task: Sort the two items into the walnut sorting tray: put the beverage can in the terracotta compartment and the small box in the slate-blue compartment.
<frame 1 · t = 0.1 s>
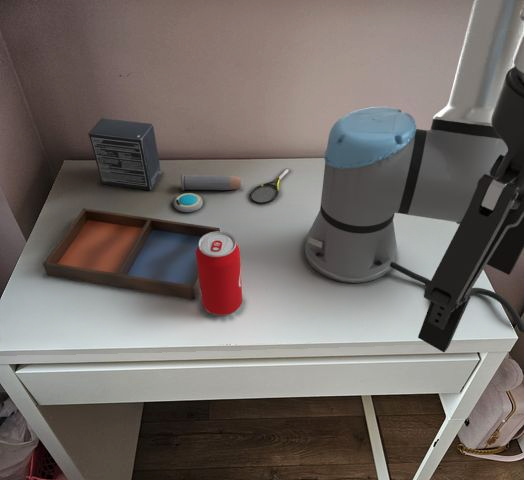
hand: (467, 302, 51), 22 cm above the table, tool pointing down, fingers open, 13 cm apart
beverage can: (222, 304, 81), on the table
small box: (132, 179, 103), on the table
tennis racket: (260, 181, 102), on the table
button: (188, 204, 97), on the table
sorting tray: (137, 256, 88), on the table
grey two-tone cylinder: (211, 173, 99), point 2 cm above the table
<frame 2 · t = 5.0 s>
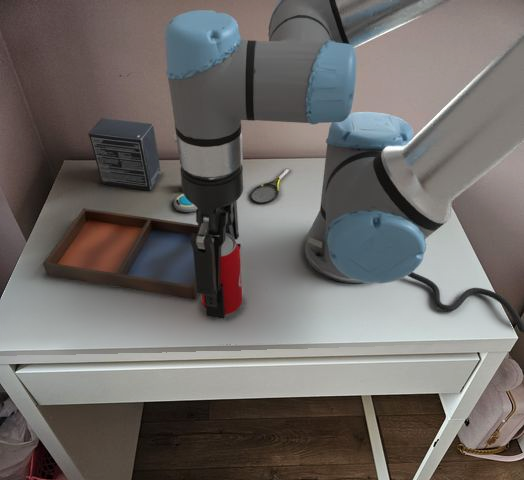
hand: (222, 299, 80), 1 cm above the table, tool pointing down, fingers closed on beverage can, 6 cm apart
beverage can: (222, 304, 81), on the table, touching gripper
everything else where it was.
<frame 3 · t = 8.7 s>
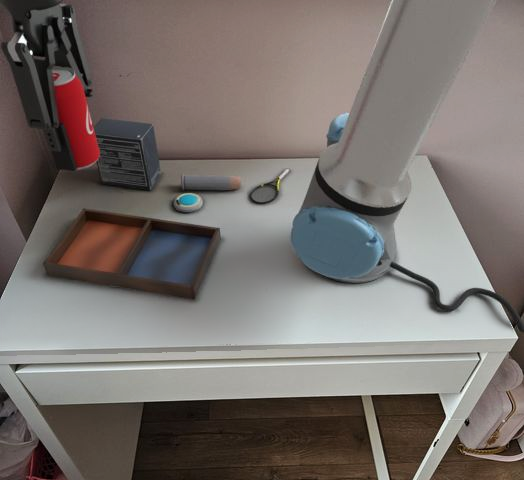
hand: (77, 155, 74), 18 cm above the table, tool pointing down, fingers closed on beverage can, 6 cm apart
beverage can: (79, 162, 75), point 17 cm above the table, touching gripper
everything else where it was.
when the fingers open (1 cm above the table, at t = 12.7 s): beverage can stays where it is, resting on sorting tray.
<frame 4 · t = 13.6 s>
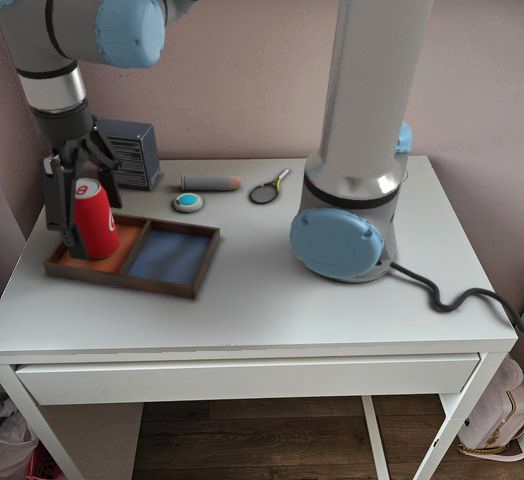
hand: (98, 231, 85), 4 cm above the table, tool pointing down, fingers open, 13 cm apart
beverage can: (102, 250, 88), resting on sorting tray
everything else where it was.
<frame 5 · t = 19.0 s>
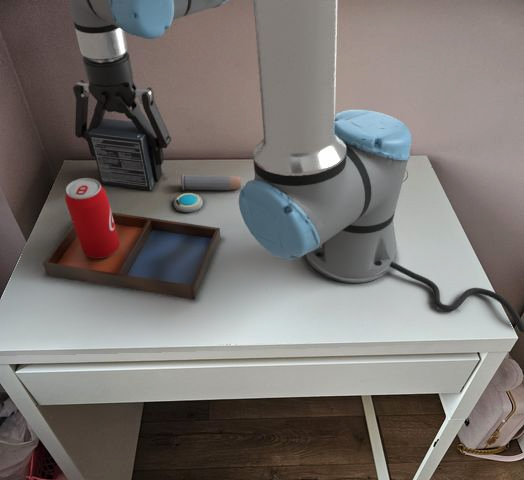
hand: (131, 174, 102), 1 cm above the table, tool pointing down, fingers closed on small box, 10 cm apart
small box: (132, 179, 103), on the table, touching gripper
everything else where it was.
when the fingers open (3 cm above the table, at t = 27.8 s): small box stays where it is, point 1 cm above the table.
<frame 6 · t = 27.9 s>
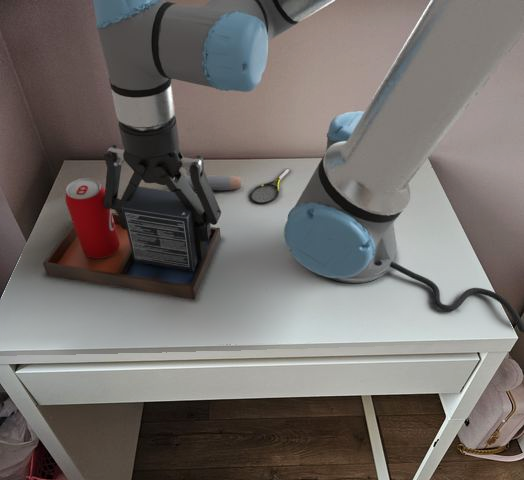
hand: (169, 249, 85), 3 cm above the table, tool pointing down, fingers open, 11 cm apart
small box: (169, 255, 86), point 1 cm above the table
everything else where it was.
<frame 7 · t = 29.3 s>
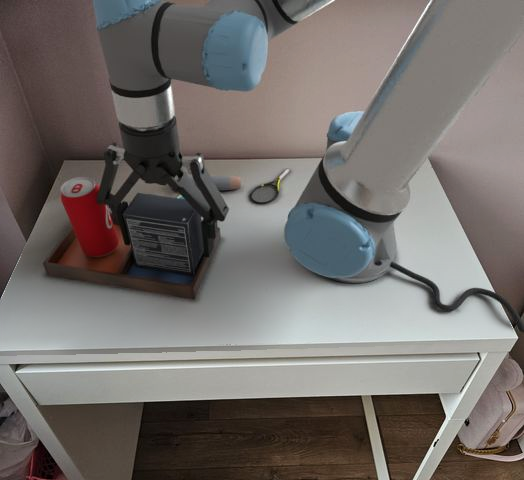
hand: (169, 246, 84), 3 cm above the table, tool pointing down, fingers open, 13 cm apart
beverage can: (102, 249, 88), point 1 cm above the table, touching gripper, sorting tray
small box: (171, 260, 87), resting on sorting tray
everything else where it was.
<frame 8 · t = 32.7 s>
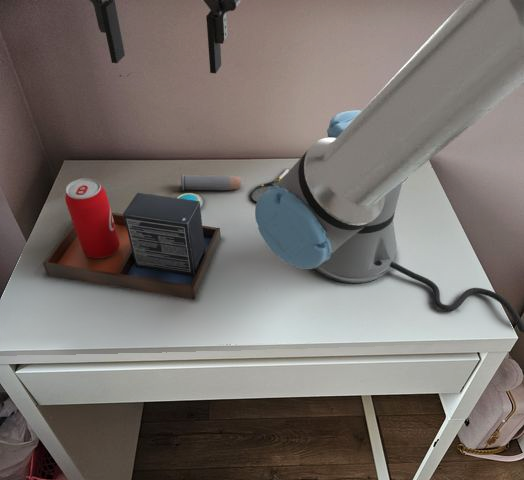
hand: (166, 64, 69), 29 cm above the table, tool pointing down, fingers open, 13 cm apart
beverage can: (102, 250, 88), resting on sorting tray
everything else where it was.
at the end: beverage can inside the target area on the sorting tray (1.0 cm from its centre), point 0.3 cm above the sorting tray's base; small box inside the target area on the sorting tray (0.2 cm from its centre), point 0.3 cm above the sorting tray's base; beverage can tilted 0° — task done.
